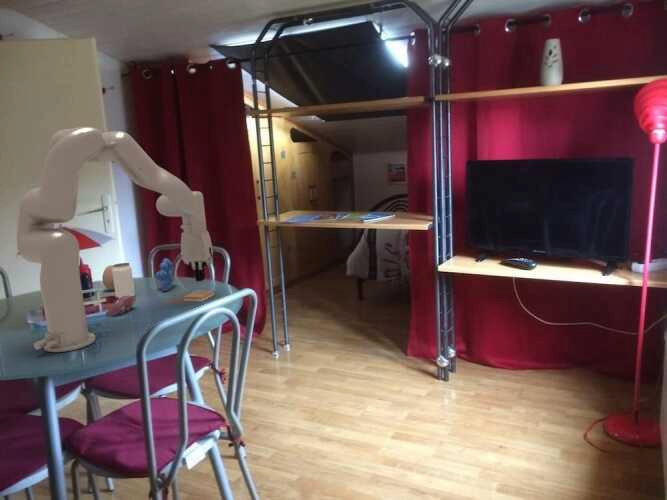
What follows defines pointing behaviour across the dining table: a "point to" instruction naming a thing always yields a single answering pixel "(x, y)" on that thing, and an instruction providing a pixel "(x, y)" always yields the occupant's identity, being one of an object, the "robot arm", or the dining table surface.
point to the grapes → (165, 274)
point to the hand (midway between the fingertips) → (200, 280)
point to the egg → (108, 278)
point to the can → (123, 280)
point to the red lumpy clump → (121, 305)
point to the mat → (179, 299)
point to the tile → (198, 295)
